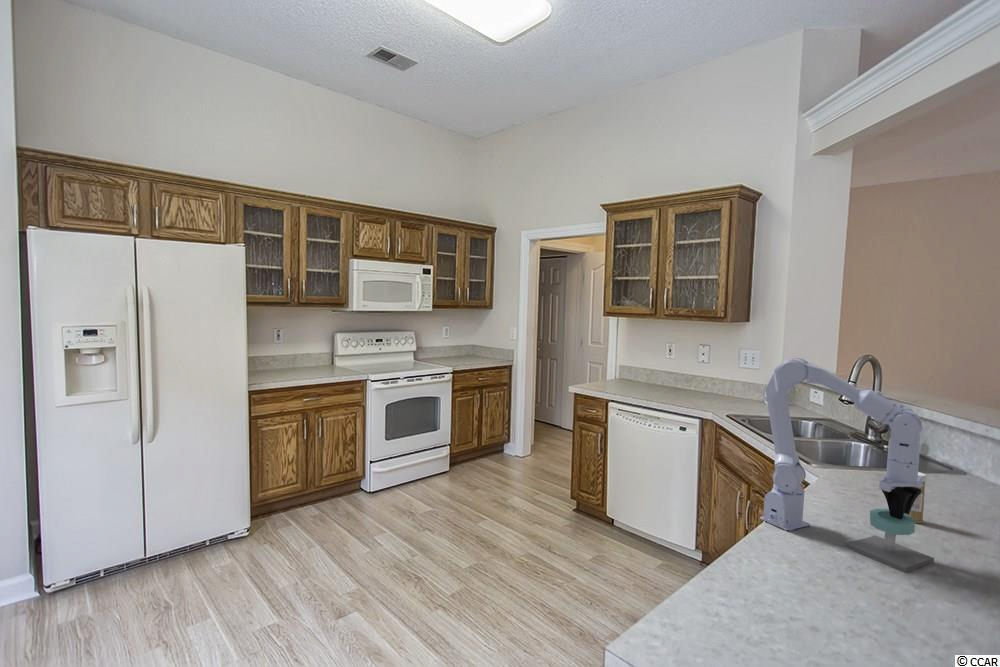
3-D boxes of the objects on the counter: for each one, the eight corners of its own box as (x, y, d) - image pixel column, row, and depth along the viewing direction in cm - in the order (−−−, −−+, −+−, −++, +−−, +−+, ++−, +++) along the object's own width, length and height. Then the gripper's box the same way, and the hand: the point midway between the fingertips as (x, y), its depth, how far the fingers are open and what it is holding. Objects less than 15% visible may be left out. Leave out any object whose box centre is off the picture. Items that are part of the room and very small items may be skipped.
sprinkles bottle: (925, 521, 134) (928, 473, 133) (919, 525, 131) (923, 476, 131) (904, 515, 137) (908, 469, 137) (898, 518, 135) (902, 471, 134)
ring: (902, 538, 108) (902, 527, 108) (862, 523, 115) (862, 513, 115) (921, 529, 112) (921, 518, 111) (881, 515, 119) (881, 505, 119)
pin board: (905, 572, 105) (907, 547, 105) (846, 547, 116) (847, 525, 116) (933, 562, 110) (935, 538, 110) (874, 539, 121) (876, 517, 121)
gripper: (906, 468, 107) (902, 528, 108) (939, 462, 114) (935, 519, 114) (870, 459, 114) (866, 516, 114) (904, 454, 120) (900, 507, 121)
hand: (898, 517), depth 115 cm, fingers closed on ring, 2 cm apart
